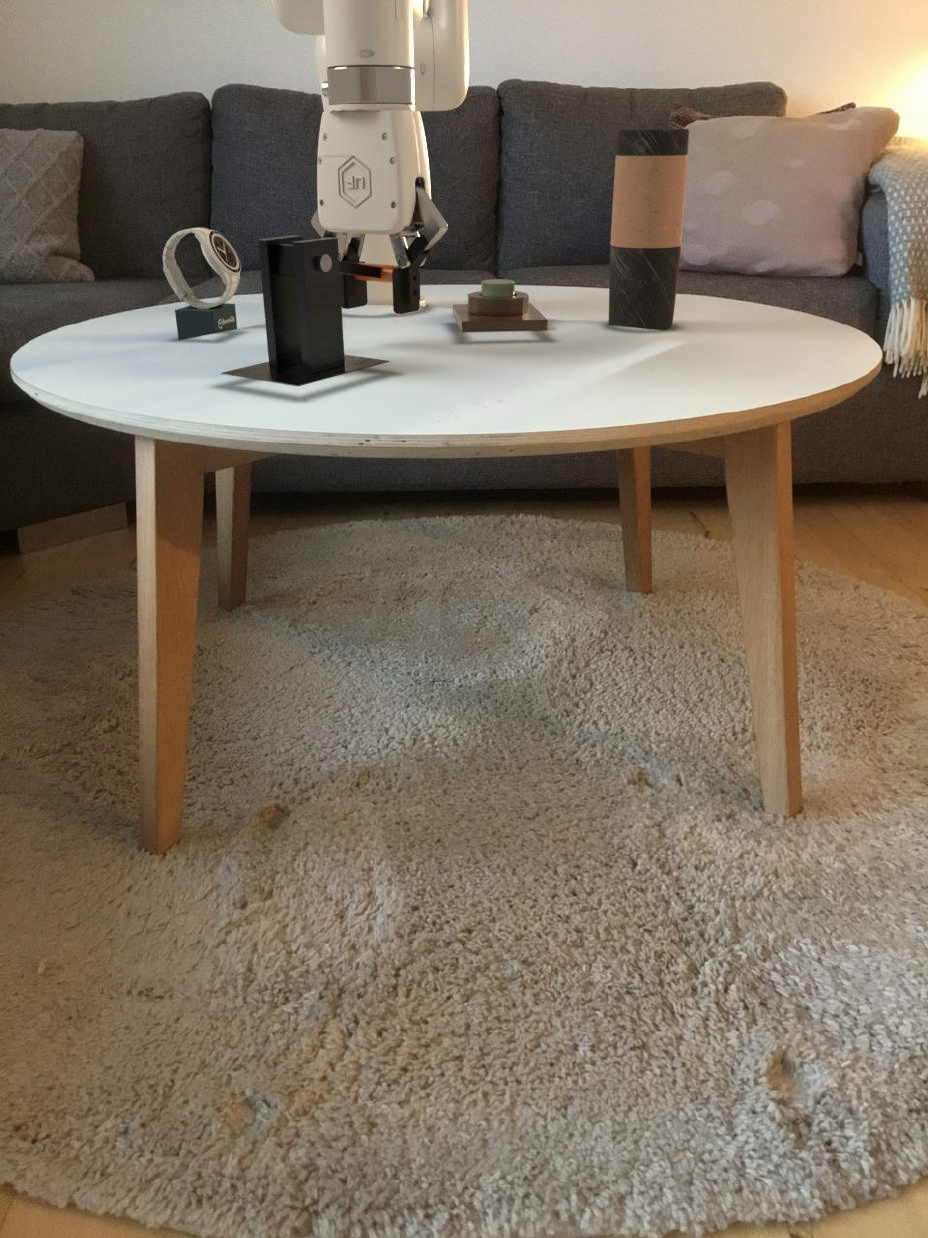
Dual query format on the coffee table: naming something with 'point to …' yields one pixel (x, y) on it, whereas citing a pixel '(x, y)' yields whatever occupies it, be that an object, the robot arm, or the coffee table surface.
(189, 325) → the watch
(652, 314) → the travel mug
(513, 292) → the warm button
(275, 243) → the switch bracket
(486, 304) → the button block
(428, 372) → the coffee table surface
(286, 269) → the switch lever
